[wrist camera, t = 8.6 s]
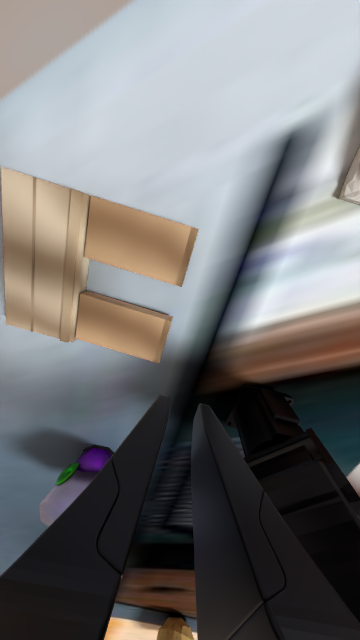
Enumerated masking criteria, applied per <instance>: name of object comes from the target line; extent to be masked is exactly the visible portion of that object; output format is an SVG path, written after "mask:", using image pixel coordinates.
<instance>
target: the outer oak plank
mask: <svg viewBox="0 0 360 640" xmlns="http://www.w3.org/2000/svg"><path fill="white" fill-rule="evenodd" d="M197 234H198V229H196V228H193V227H190V226H187V225H184V224H180V223H177V222H174V221H171V220H168V219H165V218H161V217H158V216H155V215H152V214H149V213H145V212H142V211H139V210H136V209H133V208H129V207H126V206H123V205H120V204H117V203H114V202H110V201H107V200H104V199H101V198H98V197H94V196H91V199H90V209H89V218H88V227H87V236H86V246H85V255H84V257H85V258H88V259H92V260H95V261H98V262H101V263H105V264H108V265H111V266H115V267H118V268H121V269H124V270H128V271H131V272H134V273H137V274H141V275H144V276H147V277H150V278H154V279H157V280H160V281H164V282H167V283H170V284H173V285H177V286H180V287H182V284H183V281H184V278H185V274H186V271H187V267H188V264H189V261H190V257H191V254H192V251H193V247H194V244H195V240H196V237H197Z"/></svg>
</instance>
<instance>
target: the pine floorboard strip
mask: <svg viewBox="0 0 360 640" xmlns="http://www.w3.org/2000/svg"><path fill="white" fill-rule="evenodd" d="M1 187H2V217H3V247H4V278H5V308H6V324H7V325H11V326H15V327H18V328H22V329H26V330H29V331H32V332H37V333H41V334H44V335H48V336H52V337H55V338H59V339H60V341H64V342H69V341H70V342H74V341H75V340H76V339H75V338H76V329H77V319H78V310H79V301H80V294H81V293H84V292H86V284H87V276H88V267H89V259H88V258H85V257H84V255H85V246H86V236H87V227H88V218H89V209H90V199H91V196H90V195H88V194H85V193H83V192H80V191H77V190H74V189H69V188H66V187H63V186H60V185H57V184H54V183H51V182H47V181H44V180H41V179H38V178H35V177H32V176H29V175H26V174H22V173H19V172H16V171H13V170H10V169H7V168H4V167H1Z"/></svg>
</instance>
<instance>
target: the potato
mask: <svg viewBox="0 0 360 640" xmlns="http://www.w3.org/2000/svg"><path fill="white" fill-rule="evenodd" d="M157 640H194V638H193V635H192V632H191V628H190V627H189V626H188V625H187V623H186V622H185V621H184V620H183V619H182V618H176V617H168V618H167V620H166V621H165V622H164V624H163V625H162V627H161V628H160V629H159V631H158V636H157Z"/></svg>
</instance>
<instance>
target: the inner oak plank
mask: <svg viewBox="0 0 360 640" xmlns="http://www.w3.org/2000/svg"><path fill="white" fill-rule="evenodd" d="M172 319H173V317H172V316H168V315H165V314H162V313H159V312H155V311H152V310H149V309H145V308H142V307H139V306H136V305H132V304H129V303H126V302H122V301H119V300H116V299H112V298H109V297H106V296H103V295H99V294H96V293H93V292H89V291H87V292H84V293H81V294H80V301H79V310H78V319H77V329H76V338H75V339H79V340H82V341H85V342H89V343H92V344H96V345H99V346H102V347H106V348H109V349H112V350H116V351H119V352H122V353H126V354H129V355H132V356H136V357H139V358H142V359H146V360H149V361H152V362H156V363H159V362H160V359H161V356H162V352H163V349H164V346H165V342H166V339H167V335H168V332H169V329H170V325H171V322H172Z"/></svg>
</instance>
